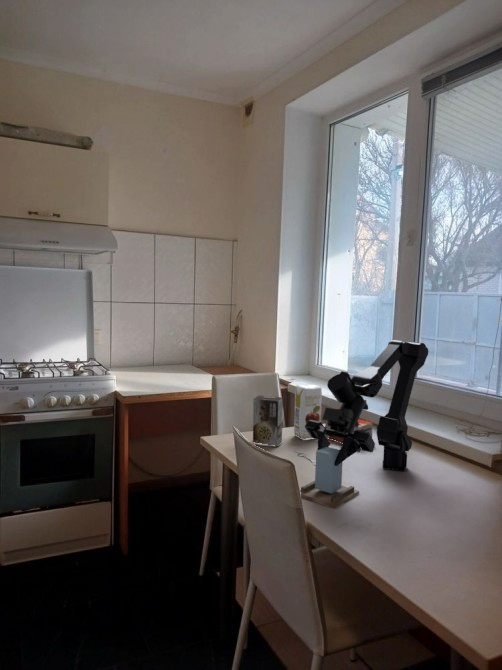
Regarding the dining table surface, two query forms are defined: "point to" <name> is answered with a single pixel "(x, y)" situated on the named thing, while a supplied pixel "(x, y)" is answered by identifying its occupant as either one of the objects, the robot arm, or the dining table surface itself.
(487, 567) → the dining table surface
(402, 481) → the dining table surface
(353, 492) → the walnut groove board
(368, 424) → the medicine box
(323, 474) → the slate-blue block
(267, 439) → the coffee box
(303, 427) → the juice carton
